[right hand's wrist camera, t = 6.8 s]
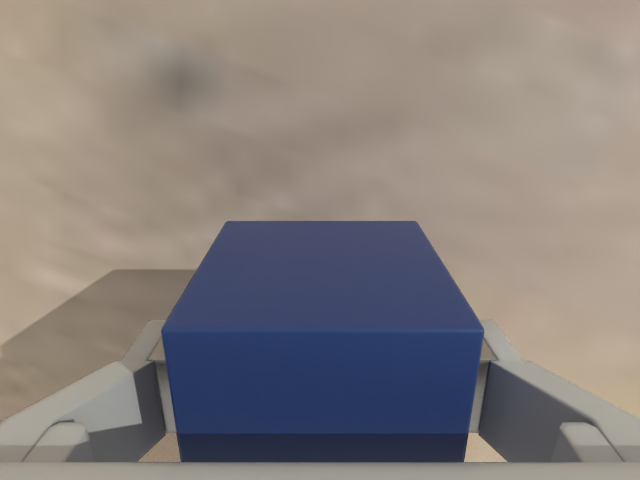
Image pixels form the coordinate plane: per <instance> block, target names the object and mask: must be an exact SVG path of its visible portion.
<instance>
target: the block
mask: <svg viewBox="0 0 640 480" xmlns="http://www.w3.org/2000/svg"><path fill="white" fill-rule="evenodd" d="M161 335H162V342H163V348H164V355H165V361H166V368H167V374H168V381H169V387H170V394H171V400H172V407H173V413H174V420H175V426H176V433H177V439H178V446H179V453H180V459H181V462H464V458H465V451H466V445H467V439H468V432H469V426H470V420H471V414H472V407H473V401H474V395H475V388H476V382H477V376H478V369H479V363H480V357H481V350H482V344H483V338H484V328H483V326H482V324H481V323H480V321H479V320H478V318H477V316H476V315H475V313H474V312H473V310H472V308H471V307H470V305H469V304H468V302H467V300H466V299H465V297H464V296H463V294H462V293H461V291H460V289H459V288H458V286H457V285H456V283H455V281H454V280H453V278H452V277H451V275H450V274H449V272H448V270H447V269H446V267H445V266H444V264H443V262H442V261H441V259H440V258H439V256H438V255H437V253H436V251H435V250H434V248H433V247H432V245H431V243H430V242H429V240H428V239H427V237H426V235H425V234H424V232H423V231H422V229H421V228H420V226H419V224H418V223H417V222H416V221H228V222H226V223H225V225H224V226H223V228H222V229H221V231H220V233H219V234H218V236H217V238H216V239H215V241H214V243H213V244H212V246H211V248H210V249H209V251H208V253H207V254H206V256H205V257H204V259H203V261H202V262H201V264H200V266H199V267H198V269H197V271H196V272H195V274H194V276H193V277H192V279H191V281H190V282H189V284H188V285H187V287H186V289H185V290H184V292H183V294H182V295H181V297H180V299H179V300H178V302H177V304H176V305H175V307H174V308H173V310H172V312H171V313H170V315H169V317H168V318H167V320H166V322H165V323H164V325H163V327H162V329H161Z"/></svg>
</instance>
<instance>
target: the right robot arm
mask: <svg viewBox="0 0 640 480" xmlns="http://www.w3.org/2000/svg"><path fill="white" fill-rule="evenodd" d="M479 321H480V323H481V324H482V326H483V328H484V338H483V344H482V350H481V357H480V363H479V369H478V376H477V382H476V388H475V395H474V401H473V407H472V414H471V420H470V426H469V433H479V434H478V435H479V436H481V437H482V438H483V439H484V440H485V441H486V442H487V443H488V444H489V445H490V446H491V447H492V448H493V449H495V450H496V451H497V452H498V453H499V454H500V455H501V456H502V457H503V458H504V459H505V460H506V461H507V462H137V461H138V460H139V459H140V458H142V457H143V456H144V455H145V454H146V453H147V452H148V451H149V450H150V449H151V448H152V447H153V446H154V445H155V444H156V443H158V442H159V441H160V440H161V439H162V438H163V437H164V436H165V435H166V434H165V433H175V432H176V426H175V420H174V413H173V407H172V400H171V394H170V387H169V381H168V374H167V368H166V361H165V355H164V348H163V342H162V335H161V329H162V327H163V325H164V323H165V322H166V320H151V321H148V322H147V324H146V325H145V327H144V328H143V330H142V331H141V333H140V334H139V335H138V337H137V338H136V340H135V341H134V343H133V344H132V346H131V347H130V349H129V350H128V351H127V353H126V354H125V356H124V357H123V359H122V360H121V361H113V362H111V363H109V364H107V365H106V366H104V367H102V368H100V369H98V370H96V371H94V372H92V373H90V374H89V375H87V376H85V377H83V378H81V379H79V380H77V381H75V382H74V383H72V384H70V385H68V386H66V387H64V388H62V389H60V390H58V391H57V392H55V393H53V394H51V395H49V396H47V397H45V398H43V399H42V400H40V401H38V402H36V403H34V404H32V405H30V406H28V407H26V408H25V409H23V410H21V411H19V412H17V413H15V414H13V415H11V416H10V417H8V418H6V419H4V420H2V421H1V422H0V480H640V419H639V418H638V417H636V416H634V415H632V414H630V413H628V412H626V411H624V410H622V409H621V408H619V407H617V406H615V405H613V404H611V403H609V402H607V401H605V400H603V399H602V398H600V397H598V396H596V395H594V394H592V393H590V392H588V391H586V390H585V389H583V388H581V387H579V386H577V385H575V384H573V383H571V382H569V381H567V380H566V379H564V378H562V377H560V376H558V375H556V374H554V373H552V372H550V371H549V370H547V369H545V368H543V367H541V366H539V365H537V364H535V363H533V362H531V361H523V359H522V358H521V357H520V355H519V354H518V352H517V351H516V350H515V348H514V347H513V345H512V344H511V343H510V341H509V340H508V338H507V337H506V336H505V334H504V333H503V331H502V330H501V328H500V327H499V326H498V324H497V323H496V321H494V320H492V319H489V320H479Z"/></svg>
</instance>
